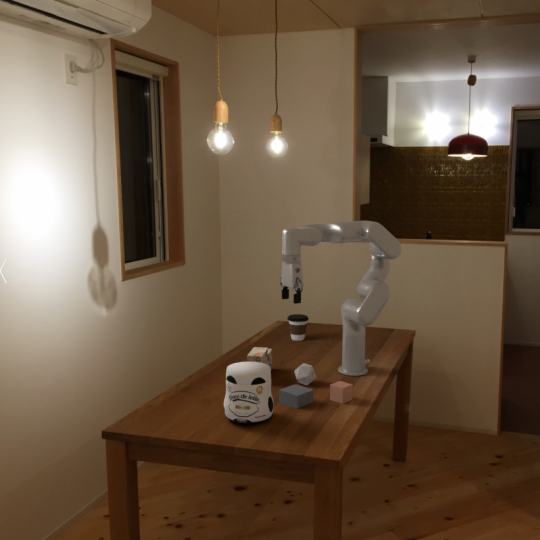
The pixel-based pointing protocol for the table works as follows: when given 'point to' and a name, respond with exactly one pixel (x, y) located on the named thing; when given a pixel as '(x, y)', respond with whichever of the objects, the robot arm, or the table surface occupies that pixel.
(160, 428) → the table surface
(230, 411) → the milk container
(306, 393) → the charcoal block
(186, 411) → the table surface
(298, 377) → the die
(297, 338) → the coffee cup
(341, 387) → the terracotta cube
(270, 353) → the stack of blocks
